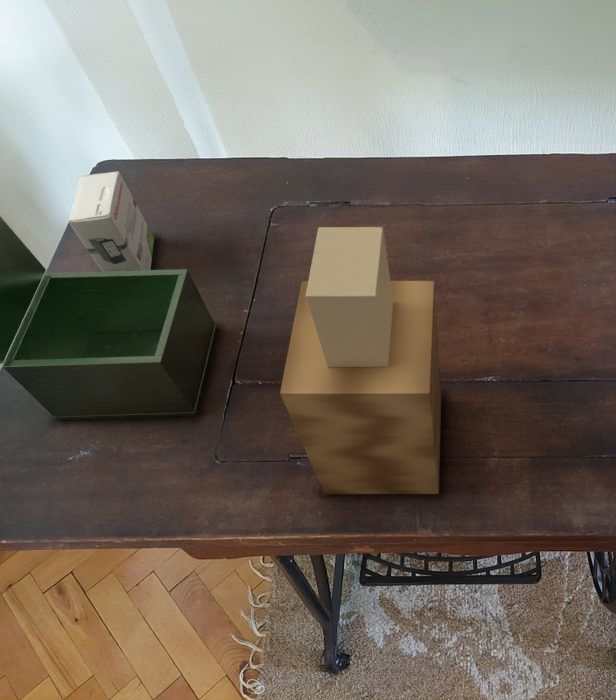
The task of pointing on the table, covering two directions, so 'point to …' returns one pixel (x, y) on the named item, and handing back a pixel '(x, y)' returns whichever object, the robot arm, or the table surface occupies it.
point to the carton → (351, 296)
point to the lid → (15, 284)
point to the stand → (370, 403)
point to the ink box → (111, 223)
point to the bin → (115, 345)
